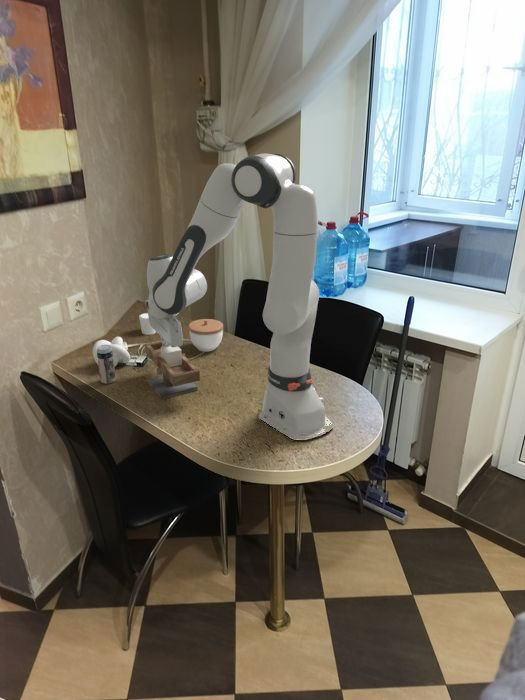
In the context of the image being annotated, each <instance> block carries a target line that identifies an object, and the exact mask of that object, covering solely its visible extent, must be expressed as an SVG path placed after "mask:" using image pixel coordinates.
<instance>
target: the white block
mask: <svg viewBox="0 0 525 700" xmlns="http://www.w3.org/2000/svg"><path fill="white" fill-rule="evenodd" d="M182 351H183V350H182V349H181V347H180V346H178V347H171V346H170V345H168V346H163V347H161V357H162V359H163V360H164V361H165V362H166V363H167V365H168V366H169V367H174V366H178V365H182V354H183V352H182Z"/></svg>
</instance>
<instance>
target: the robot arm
mask: <svg viewBox="0 0 525 700" xmlns="http://www.w3.org/2000/svg"><path fill="white" fill-rule="evenodd" d="M296 180H297V171H296V167H295V165H294V163H293V162H292V161H291V159H289V158H288V157H286V156H285V155H282V154H280V153H272V154H271V153H266V152H265V153H259V154H255V155H254V154H253V155H250V156H247V157H245V158H243V159H241V160H240V161H239V162H238V163H237V164H234V163H227V162H226V163H221V164H219V165H218V166H217V167H215V169H214V170H213V172H212V174H211V175H210V177H209V179H208V180H207V182H206V184H205V185H204V186H205V187H204V188H203V191H202V193H201V196H200V198H199V201H198V203H197V206H196V209H195V211H194V213H193V215H192V218H191V220H190V222H189V223H188V225H187V228H186V230H185V232H184V234H183V236H182V237H181V239H180V241H179V243H178V245H177V247H176V249H175V251H174V254H170V253H169V254H167V253H166V254H165V253H164V254H160V255H156V256H153V257H151V258H150V259H149V260H148V262H147V264H146V265H147V266H146V267H147V268H146V281H147V288H148V292H149V294H148V299H147V300H145V307H146V309H147V313H148V317H149V323H150V325H151V327H152V328H153V329H154V330H155V331H156V333H157V334H158V335H159V337H160V340H161V341H162V347H163V346H168V345H170V346H171V347H181V346H183V344H184V338H183V337H184V336H183V330H182V324H181V322H180V320H178V319H177V316H178V315H179V314H180V312H181V311H183V310H184V309H185V308H187V307H189V306H190V305H192V304H194V303H195V302H197V301H198V300H200V299H202V298H203V297H204V296H205V295H206V294H207V291H208V281H207V278H206V276H205V275H204V273H202V271H200V270H198V269H196V265H197V264H198V262H199V261H200V259H201V258H202V256H203V255H204V254H205V253H207V251H209V250H210V249H211V248H213V247H214V246H216V245H217V244H218V243H220V242H221V241H223V240H224V239H225V238H227V237H228V236H229V234H230V233H231V232H232V230H233V229H234V228H235V225H236V224H237V222H238V219H239V218H240V215H241V212H242V210H243V208H244V205H245V204H246V203H247V202H248V203H249V204H253V205H256V206H258V207H260V208H262V209H265V210H266V209H271V211H272V218H273V220H272V221H273V222H272V223H273V224H272V226H273V227H272V231H273V233H272V262H271V269H270V276H269V279H268V286H267V293H266V299H265V300H266V301H265V304H264V308H263V311H262V320H263V322H264V325H265V326H266V327H267V329H268V330H269V331H271V332H272V333H273V334H272V337H271V341H270V351H269V352H270V353H269V366H268V368H267V381H268V383H267V386H266V388H265V390H264V392H263V393H264V394H263V401H262V409H261V411H260V413H259V414H258V419H259V420H260V419H261V420H263V421H264V422H266V423H267V424H269V425H270V426H272V427H274V428H276V429H277V430H279V431H281V432H282V433H284V434H286V435H287V436H289V437H291V438H293V439H305V438H309V437H313V436H316V435H318V434H320V433H323V432H325V431H324V430H325V429H323V427H325V426H329V424H330V423H331V424H333V422H332V421H331V420H330V419H329V418H328V417H327V414H326V407H325V406H324V404H325V399H324V397H322V396H319V395H318V393H317V391H316V389H315V387H314V385H313V383H315V382H314V380H315V378H312V373H311V370H310V369H311V368H310V357H311V356H310V355H311V344H312V338H313V334H314V328H315V323H316V317H317V311H318V304H319V298H320V289H319V287H318V285H317V283H316V282H315V280H313V279H312V278H313V274H314V269H315V266H316V262H317V261H316V260H317V259H316V258H317V243H318V241H317V240H318V209H317V200H316V195H315V192H314V191H313V190H312V189H311V188H310V187H308V186H306V185H303V184H296ZM261 420H260V421H261ZM327 420H328V421H327ZM263 421H262V422H263ZM264 422H263V423H264ZM266 423H265V424H266ZM267 424H266V425H267ZM326 424H327V425H326ZM331 424H330V425H331ZM269 425H268V426H269ZM270 426H269V427H270ZM272 427H271V428H272ZM274 428H273V429H274ZM277 430H276V431H277ZM301 436H304V437H301Z"/></svg>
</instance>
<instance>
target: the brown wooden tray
mask: <svg viewBox="0 0 525 700" xmlns="http://www.w3.org/2000/svg"><path fill="white" fill-rule="evenodd" d="M144 346H145V347H144V349H145V354H146V355H147V356H148V358H149V359H150V360H151V361H152V362H153V364H154V365H155V366H156V367H157V368H156V372H157V375H161V376H155V377H153V378H148V379H147V382H148V384H149V385H150V387H151V388H152V389H153V391H154V392H155V393H156V395H157V396H158V397H159V398H160V400H164V399H168V398H172V397H176V396H180V395H184V394H188V393H191V392H196V391H198V390H199V389H198V385H196V384H195V382H199V381H201V378H200V377H201V376H200V375H201V374H200V369H198V367H196V366H195V365H194V364H193V363H192V362H191V360H189V359H188V358H187V357H186V354H185V353H182V365H178V366H174V367H169V366H168V365H167V363H166V362H165V361H164V360H163V359H162V357H161V347H162V341H155V342H152V343H151V342H150V343H147V344H145V345H144Z"/></svg>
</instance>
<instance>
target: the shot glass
mask: <svg viewBox="0 0 525 700" xmlns="http://www.w3.org/2000/svg"><path fill="white" fill-rule="evenodd" d="M138 320H139V324H140V328H141V334H143V335H147V336H148V335H149V336H151V335H154V334H156V333H157V332H156V331H155V330H154V329H153V328H152V327H151V325H150V323H149V317H148V312H144V313H141V314H139V315H138Z"/></svg>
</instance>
